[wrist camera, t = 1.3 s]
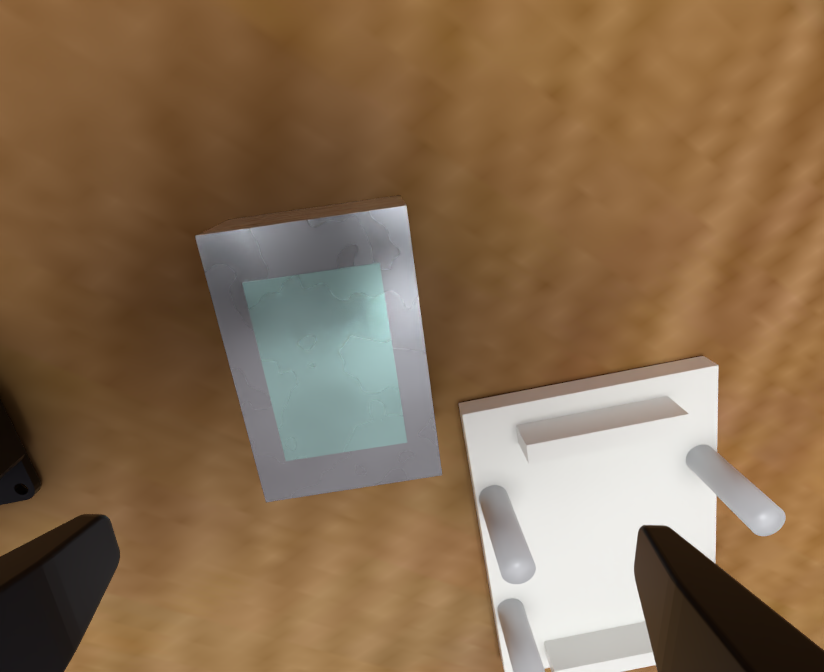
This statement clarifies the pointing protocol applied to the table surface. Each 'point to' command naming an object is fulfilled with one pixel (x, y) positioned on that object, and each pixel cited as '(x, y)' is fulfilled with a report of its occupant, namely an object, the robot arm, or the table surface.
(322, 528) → the table surface
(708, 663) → the robot arm
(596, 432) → the white peg stand
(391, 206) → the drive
